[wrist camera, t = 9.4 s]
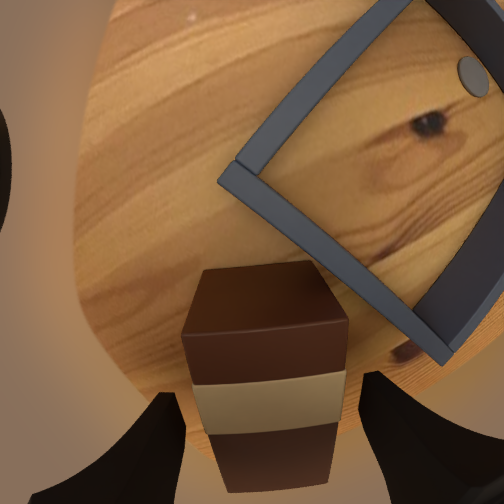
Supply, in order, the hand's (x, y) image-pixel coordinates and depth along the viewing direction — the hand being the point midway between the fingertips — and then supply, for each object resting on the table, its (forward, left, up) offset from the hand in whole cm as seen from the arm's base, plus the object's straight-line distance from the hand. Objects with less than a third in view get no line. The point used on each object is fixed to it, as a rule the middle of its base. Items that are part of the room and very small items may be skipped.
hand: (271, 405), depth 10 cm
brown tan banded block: (0, 0, -3) cm, 3 cm away
